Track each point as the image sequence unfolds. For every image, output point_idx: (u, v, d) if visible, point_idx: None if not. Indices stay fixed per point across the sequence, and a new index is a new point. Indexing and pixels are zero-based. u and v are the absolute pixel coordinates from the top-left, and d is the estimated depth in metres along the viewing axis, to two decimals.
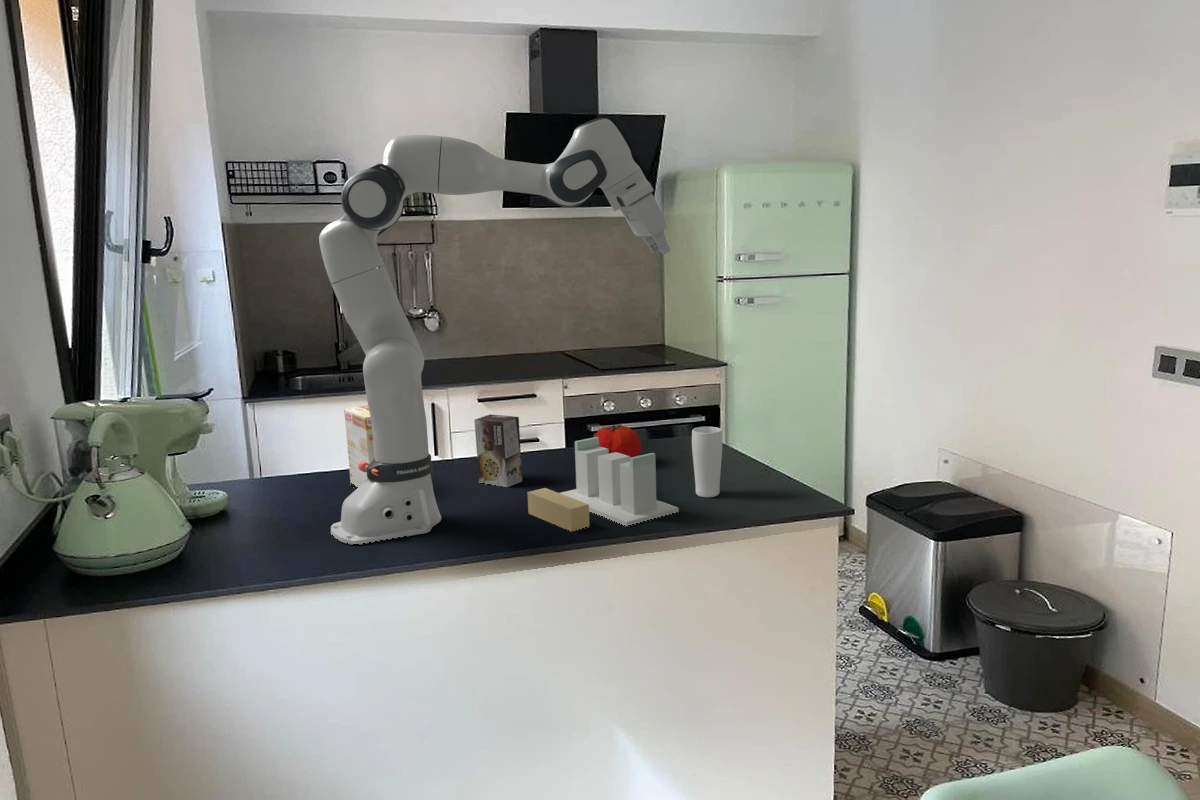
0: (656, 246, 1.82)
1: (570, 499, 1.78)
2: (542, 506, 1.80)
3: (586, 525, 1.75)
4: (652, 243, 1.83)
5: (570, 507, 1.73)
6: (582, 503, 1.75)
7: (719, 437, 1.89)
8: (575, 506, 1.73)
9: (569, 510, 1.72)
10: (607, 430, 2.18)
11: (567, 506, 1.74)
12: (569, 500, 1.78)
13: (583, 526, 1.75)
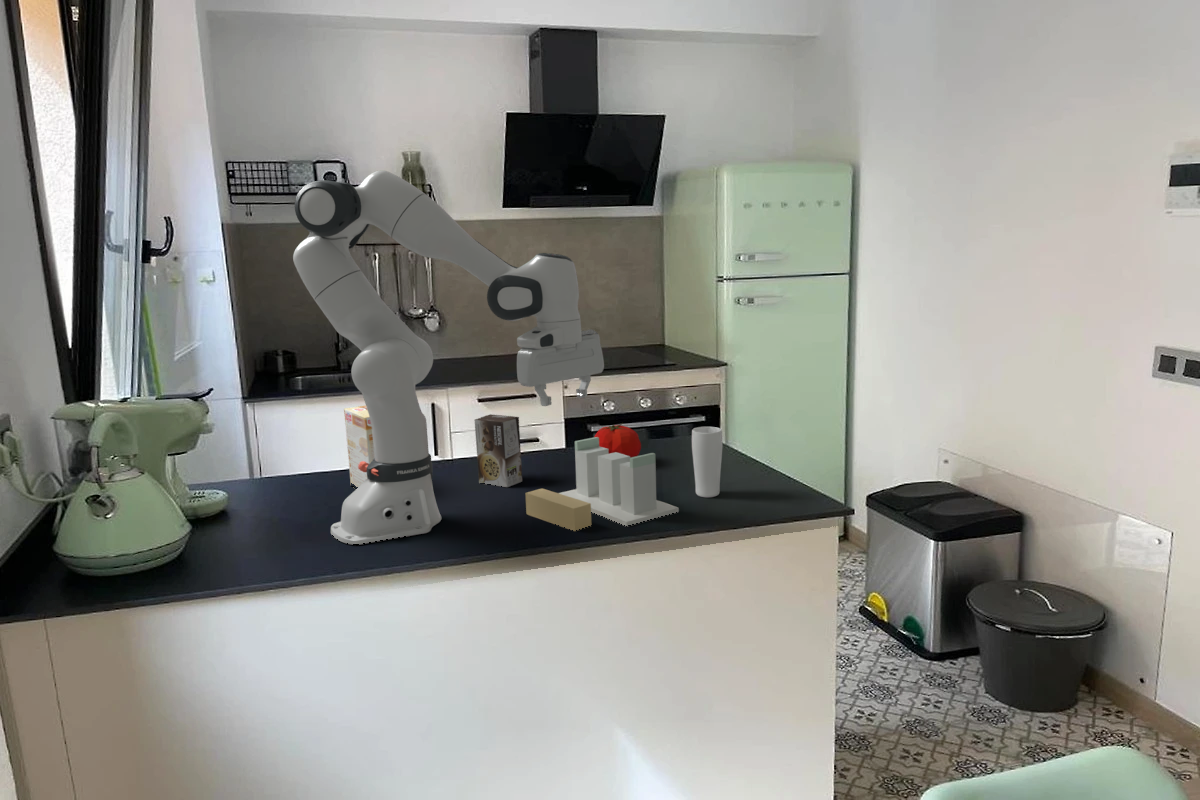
0: (579, 392, 1.79)
1: (570, 499, 1.79)
2: (542, 506, 1.80)
3: (588, 524, 1.75)
4: (582, 387, 1.79)
5: (573, 506, 1.74)
6: (584, 502, 1.76)
7: (719, 437, 1.89)
8: (577, 506, 1.74)
9: (572, 510, 1.73)
10: (607, 430, 2.18)
11: (569, 505, 1.74)
12: (570, 500, 1.78)
13: (585, 525, 1.75)
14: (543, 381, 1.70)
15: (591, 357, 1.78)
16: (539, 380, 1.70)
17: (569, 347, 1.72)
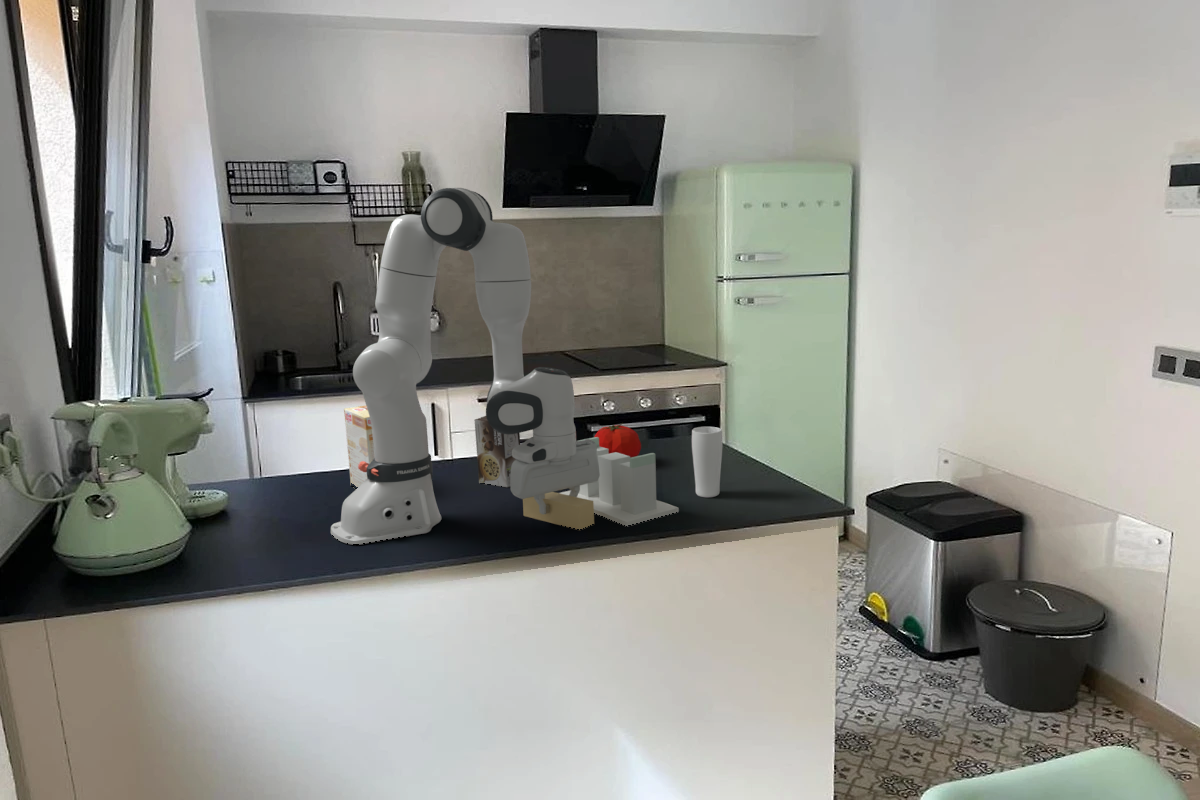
0: None
1: (571, 497, 1.79)
2: None
3: (591, 522, 1.76)
4: None
5: (577, 504, 1.74)
6: (586, 500, 1.77)
7: (719, 437, 1.89)
8: (581, 504, 1.74)
9: (577, 508, 1.73)
10: (607, 430, 2.18)
11: (573, 503, 1.75)
12: (571, 498, 1.78)
13: (589, 523, 1.76)
14: (535, 493, 1.74)
15: (586, 467, 1.81)
16: (531, 492, 1.73)
17: (563, 460, 1.75)
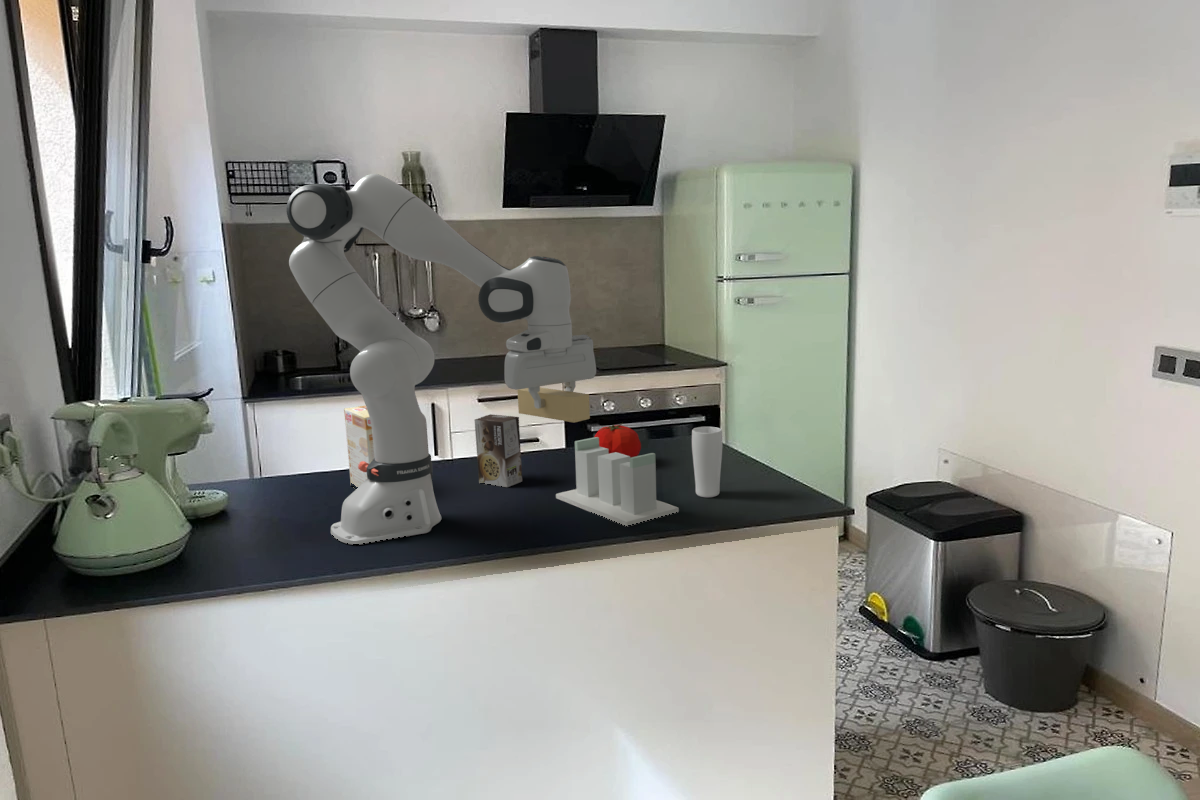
0: None
1: (567, 392, 1.75)
2: None
3: (587, 415, 1.72)
4: None
5: (572, 396, 1.70)
6: (582, 393, 1.72)
7: (719, 437, 1.89)
8: (576, 396, 1.70)
9: (571, 399, 1.69)
10: (607, 430, 2.18)
11: (568, 395, 1.70)
12: (566, 392, 1.74)
13: (584, 416, 1.72)
14: (530, 384, 1.70)
15: (582, 362, 1.77)
16: (525, 383, 1.69)
17: (558, 351, 1.71)
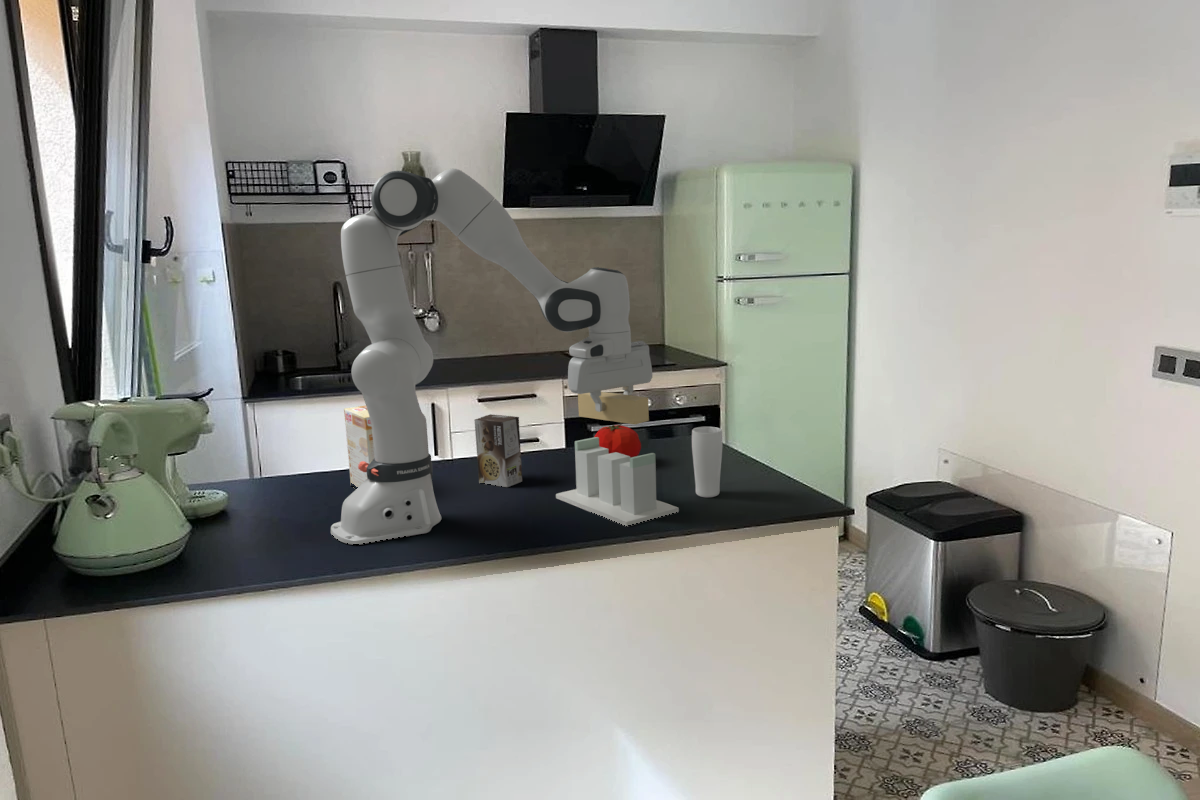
0: None
1: (626, 395, 1.84)
2: None
3: (646, 418, 1.81)
4: None
5: (632, 399, 1.79)
6: (641, 397, 1.81)
7: (719, 437, 1.89)
8: (637, 399, 1.79)
9: (632, 402, 1.78)
10: (607, 430, 2.18)
11: (629, 399, 1.79)
12: (626, 396, 1.83)
13: (644, 418, 1.81)
14: (592, 389, 1.79)
15: (640, 367, 1.86)
16: (588, 388, 1.78)
17: (618, 357, 1.80)
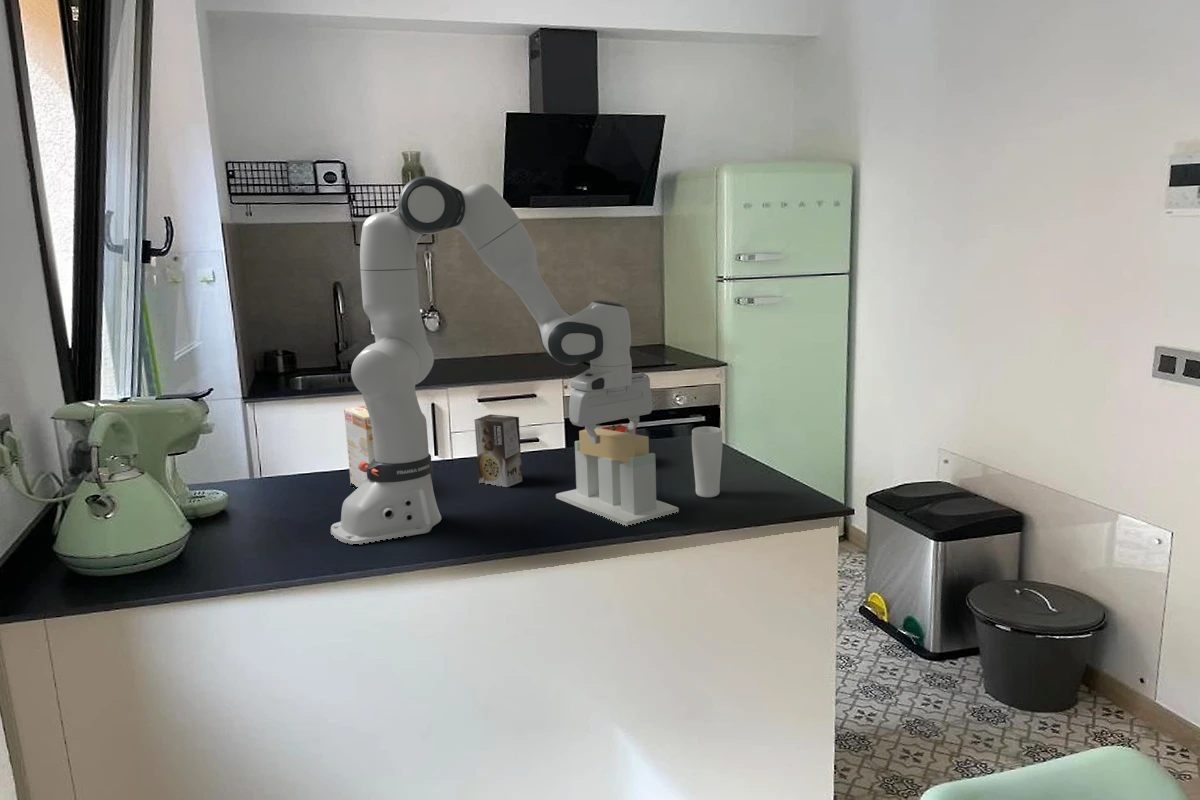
0: (628, 431, 1.88)
1: (627, 434, 1.85)
2: None
3: None
4: (630, 427, 1.89)
5: (633, 439, 1.80)
6: (641, 436, 1.83)
7: (719, 437, 1.89)
8: (637, 438, 1.81)
9: (633, 442, 1.79)
10: None
11: (629, 438, 1.81)
12: (626, 434, 1.85)
13: None
14: (593, 421, 1.80)
15: (640, 399, 1.87)
16: (589, 420, 1.80)
17: (619, 390, 1.82)
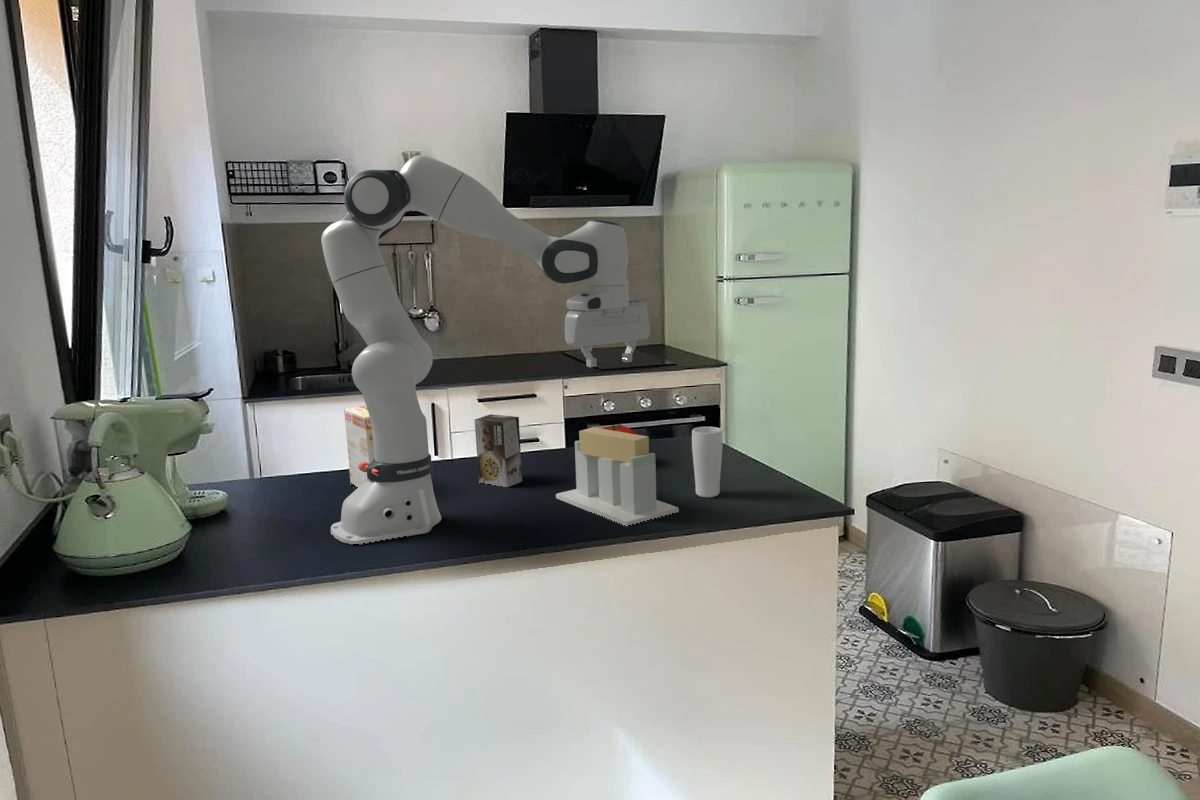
0: (625, 356, 1.85)
1: (627, 434, 1.85)
2: (598, 442, 1.86)
3: None
4: (627, 352, 1.86)
5: (633, 439, 1.80)
6: (641, 436, 1.83)
7: (719, 437, 1.89)
8: (637, 438, 1.81)
9: (633, 442, 1.79)
10: None
11: (629, 438, 1.81)
12: (626, 434, 1.85)
13: None
14: (589, 342, 1.77)
15: (637, 323, 1.84)
16: (585, 341, 1.77)
17: (616, 311, 1.79)
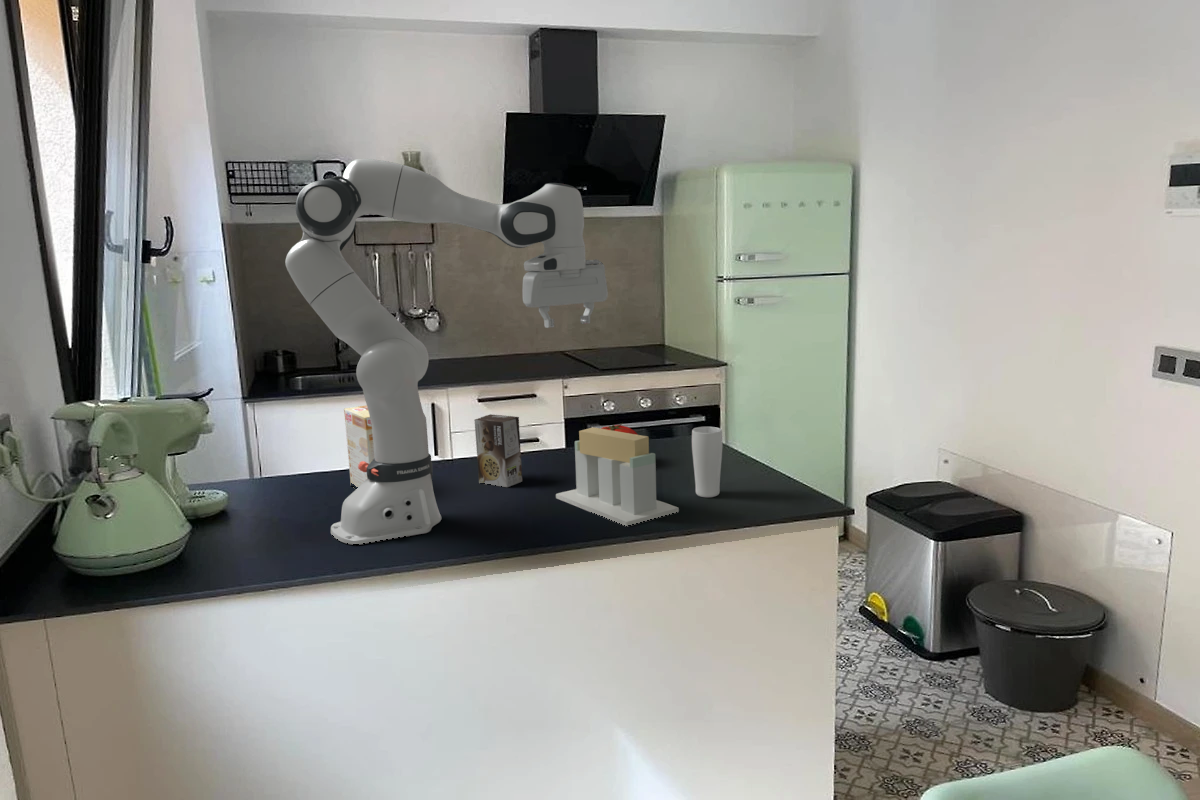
0: (583, 318, 1.89)
1: (627, 434, 1.85)
2: (598, 442, 1.86)
3: None
4: (585, 314, 1.90)
5: (633, 439, 1.80)
6: (641, 436, 1.83)
7: (719, 437, 1.89)
8: (637, 438, 1.81)
9: (633, 442, 1.79)
10: None
11: (629, 438, 1.81)
12: (626, 434, 1.85)
13: None
14: (546, 303, 1.81)
15: (595, 285, 1.88)
16: (542, 302, 1.81)
17: (572, 273, 1.83)
